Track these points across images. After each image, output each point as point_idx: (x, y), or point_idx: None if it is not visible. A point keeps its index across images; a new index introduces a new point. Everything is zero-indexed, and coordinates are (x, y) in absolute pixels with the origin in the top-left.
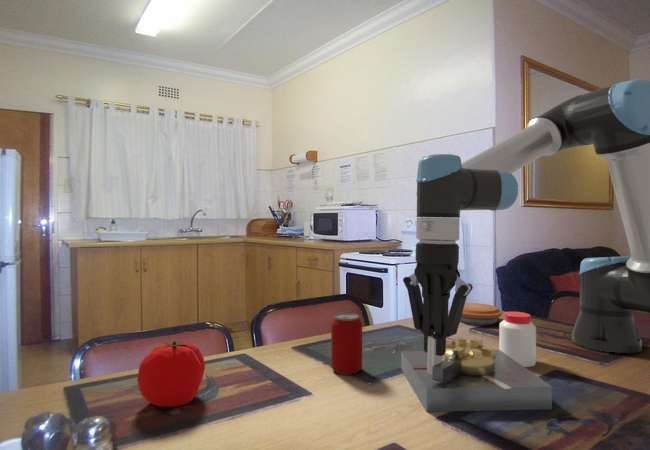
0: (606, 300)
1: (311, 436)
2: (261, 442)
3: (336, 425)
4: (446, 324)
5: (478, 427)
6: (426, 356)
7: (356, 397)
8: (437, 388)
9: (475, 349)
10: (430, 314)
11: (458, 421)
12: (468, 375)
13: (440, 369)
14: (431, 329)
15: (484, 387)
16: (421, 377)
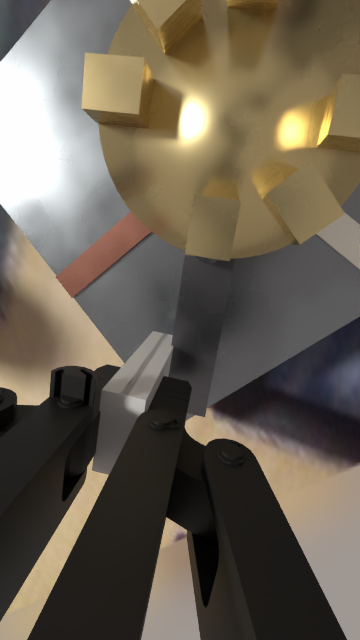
0: None
1: (56, 567)
2: (13, 605)
3: (65, 523)
4: (199, 607)
5: (315, 409)
6: (48, 126)
7: (21, 404)
8: None
9: (300, 182)
10: (2, 601)
11: (265, 403)
12: None
13: (196, 413)
14: (76, 453)
15: (335, 329)
16: (127, 354)
